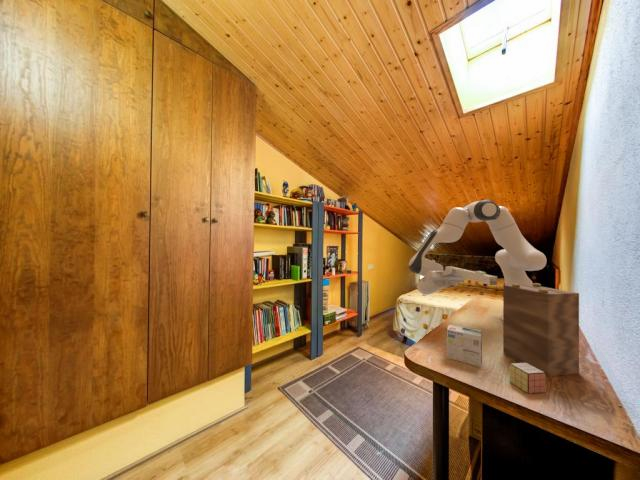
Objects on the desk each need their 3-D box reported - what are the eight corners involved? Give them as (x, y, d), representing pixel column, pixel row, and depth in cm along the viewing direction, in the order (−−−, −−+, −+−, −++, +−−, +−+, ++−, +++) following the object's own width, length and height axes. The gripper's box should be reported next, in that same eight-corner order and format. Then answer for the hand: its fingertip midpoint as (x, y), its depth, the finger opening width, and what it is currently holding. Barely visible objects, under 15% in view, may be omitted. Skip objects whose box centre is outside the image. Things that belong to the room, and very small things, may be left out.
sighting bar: (451, 272, 108) (451, 264, 108) (496, 284, 84) (497, 274, 84) (445, 272, 108) (445, 264, 108) (489, 284, 84) (490, 274, 84)
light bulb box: (482, 359, 83) (482, 329, 83) (481, 368, 77) (482, 336, 77) (448, 351, 89) (448, 323, 89) (446, 358, 84) (446, 328, 84)
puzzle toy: (525, 380, 70) (525, 362, 71) (546, 392, 65) (546, 372, 65) (509, 381, 70) (509, 363, 70) (528, 394, 64) (528, 373, 64)
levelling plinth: (530, 351, 89) (530, 281, 89) (579, 373, 74) (578, 290, 74) (503, 353, 87) (503, 282, 88) (547, 376, 73) (547, 291, 73)
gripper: (417, 274, 115) (433, 264, 103) (454, 273, 118) (474, 263, 106) (421, 286, 112) (437, 277, 100) (459, 285, 115) (479, 276, 103)
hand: (456, 270), depth 103 cm, fingers closed on sighting bar, 3 cm apart
